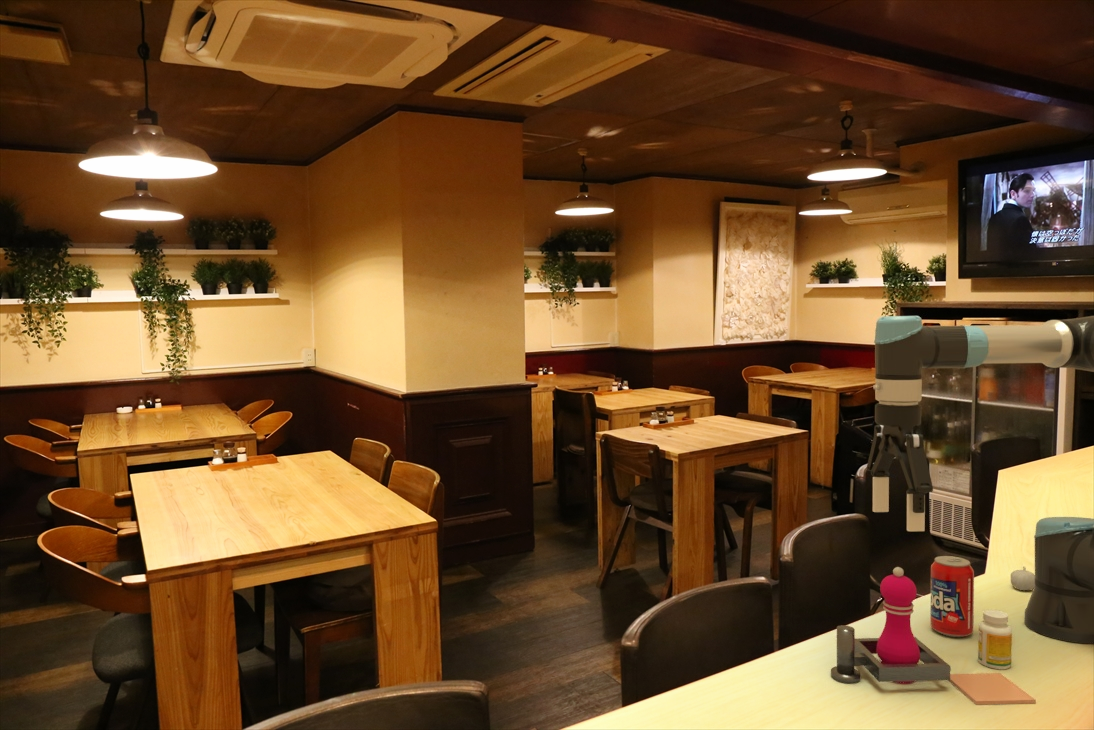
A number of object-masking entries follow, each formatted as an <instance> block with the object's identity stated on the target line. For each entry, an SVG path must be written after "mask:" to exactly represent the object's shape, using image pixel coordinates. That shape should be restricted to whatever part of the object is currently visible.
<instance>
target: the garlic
mask: <svg viewBox="0 0 1094 730" xmlns="http://www.w3.org/2000/svg"><path fill="white" fill-rule="evenodd" d="M1026 569H1027V568H1026V566H1022V569H1017V570H1013V571H1012V572H1011V573H1010V584H1011V585H1012V586H1013V587H1014V588H1015V587H1016V589H1017V588H1018V590H1019V589H1020V590H1019V591H1021V590H1028V591H1032V590H1034V587H1035V573H1033V572H1031V571H1029V570H1026ZM1031 589H1032V590H1031Z"/></svg>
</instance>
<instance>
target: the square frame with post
mask: <svg viewBox="0 0 1094 730" xmlns="http://www.w3.org/2000/svg"><path fill="white" fill-rule="evenodd" d="M855 634H856V631H855V628H854V627H853V626H849V625H842V624H841V625H837V626H836V666H833V667H831V669H830V677H831V678H832V679H833V680H834V681H836V682H838V683H841V684H842V683H843V684H845V685H847V684H849V685H854V684H858V683H859V682H861V680H862V679H861V678H862V677H861V671H860V670H858V669H857V668H855V667H856V666H857V667H858V666H861V667H862V666H863V667H864V668H865V669H866V670H867V671H868V673H869V674H871V675H872V676H873V677H874V678H875V680H876V681H877V682H879V683H880V682H881V683H887V682H888V683H889V682H892V683H895V681H915V682H924V681H925V682H929V681H932V682H933V681H948V680H950V674H951V665H950V664H949V663H948V662H946V660H944V659H942V657H940V656H939V655H937V654H936V653H935V651H933V650H932V649H931V648H929V646H927V645H925V643H923V642H922V641H921V640H919V639H918V638H917V637H916V636H914V638H915V640H916V642H917V644H918V647H919V650H920V660H919V661H921V662H922V663H917V664H882V663H881V660H880V659H878V658H877V657H876V656H875V655H877V653H876V648H877V642H878V639H879V637H872V638H871V637H865V638H861V637H860V638H859V637H857V638H855V636H856V635H855Z"/></svg>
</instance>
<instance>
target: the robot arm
mask: <svg viewBox="0 0 1094 730" xmlns="http://www.w3.org/2000/svg"><path fill="white" fill-rule="evenodd" d="M874 333H875V336H874V341H873V342H874V348H875V349H874V361H875V363H874V366H875V367H874V371H875V372H874V373H875V374H874V375H875V379H874V380H875V381H874V382H875V384H873V386H872V387H873V390H874V392H875V395H874V396H875V400H876V401H878V402H877V403H875V404H874V422H875V425H874V429H873V430H874V431H873V432H874V433H873V440H872V444H871V447H870V452H869V456H868V460H867V465H866V470H867V472H870V475H871V476H872V512H874V513H888V512H889V509H890V507H889V506H890V505H889V502H890V501H889V499H890V497H889V495H890V491H889V490H890V486H889V485H890V477H889V476H891V474H890V472H889V469H890V467H891V465H892V463H893V461H894V459H896V460H898V461H899V463H900V467H901V469H902V471H903V472H902V473H903V474H904V477H905V480H906V484H907V487H908V488H907V489H906V492H905V493H906V531H907V532H925V530H926V529H925V527H926V525H925V524H926V523H925V521H926V520H925V519H926V517H925V515H926V494H928V493H933V492H934V486H933V483H932V478H931V474H930V468H929V465H928V461H927V456H926V451H925V443H924V435H923V434H921V433H919V434H915V433H914V429H913V428H914V427H918V426H921V424H922V406H921V404H919V403H920V402H921V401H922V399H923V398H922V396H923V395H922V389H923V387H922V386H923V385H922V384H923V380H922V379H923V378H922V373H923V372H922V371H923V369H951V368H952V369H966V368H975V367H978V366H981V365H983V364H1043V365H1044V366H1046V367H1048V368H1053V369H1055V368H1058V369H1059V368H1060V369H1061V368H1062V369H1065V368H1066V369H1070V370H1071V369H1072V370H1073V369H1074V370H1080V371H1085V372H1086V371H1087V372H1093V373H1094V315H1090V316H1083V317H1076V318H1067V319H1050V320H1047V321H1044V323H1042V324H1019V325H1018V324H1011V325H1009V324H1008V325H1007V324H1005V325H1002V324H1001V325H1000V324H999V325H993V324H992V325H986V324H985V325H965V324H964V325H923V320H922V317H920V316H919V315H895V316H894V315H893V316H892V315H890V316H885V315H884V316H880V317H879V318H878V319H877V320H876V323H875V330H874ZM1033 538H1034V575H1035V587H1034V588H1033V589H1032V593H1031V595H1030V598H1029V600H1028V602H1027V605H1026V608H1025V609H1024V615H1023V616H1024V617H1023V618H1024V619H1023V620H1024V621H1023V623H1024V624H1025V626H1026V625H1027V626H1028V627H1027V626H1026V627H1027V628H1029V629H1030V630H1032V631H1033V630H1034V632H1035V633H1038V634H1040V635H1043V636H1046V637H1049V638H1053V639H1056V640H1060V641H1066V642H1070V643H1079V644H1094V518H1091V517H1080V516H1050V517H1043V518H1041V519H1039V520H1038V521H1037V522H1036V525H1035V534H1034V537H1033Z"/></svg>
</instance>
